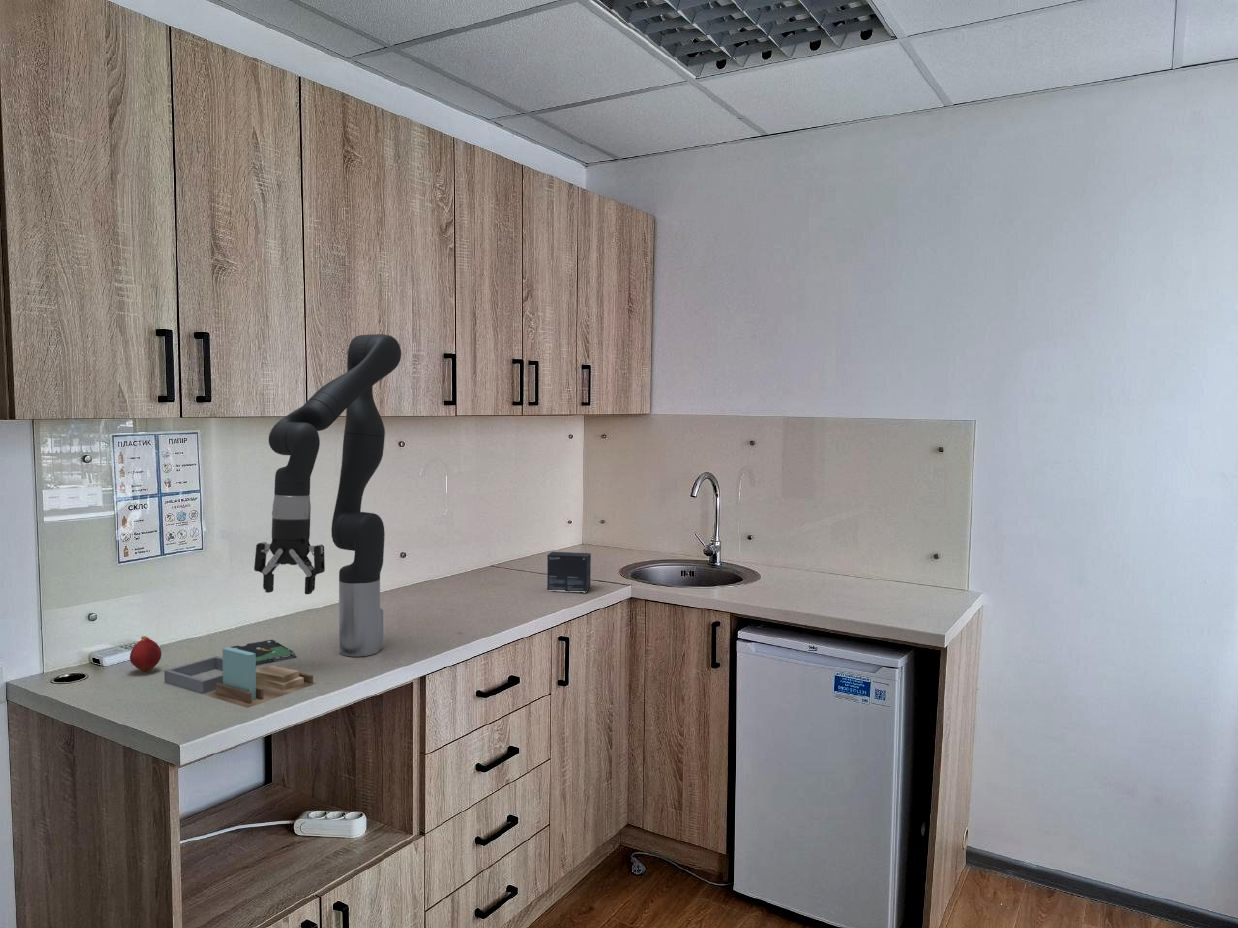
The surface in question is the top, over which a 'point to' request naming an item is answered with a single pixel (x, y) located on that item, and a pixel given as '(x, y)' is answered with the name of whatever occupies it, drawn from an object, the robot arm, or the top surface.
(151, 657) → the onion
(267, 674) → the offcut upper
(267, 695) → the rack
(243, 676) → the teal rectangular slab
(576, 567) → the small box
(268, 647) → the disk drive
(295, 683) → the offcut lower
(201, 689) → the tray
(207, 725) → the top surface
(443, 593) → the top surface
